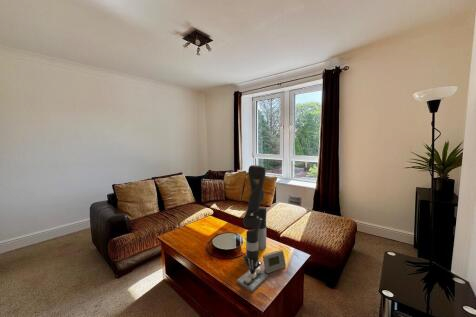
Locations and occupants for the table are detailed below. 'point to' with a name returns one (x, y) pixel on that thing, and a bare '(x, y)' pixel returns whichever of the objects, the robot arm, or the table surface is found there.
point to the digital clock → (274, 261)
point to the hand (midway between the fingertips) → (252, 273)
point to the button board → (253, 284)
